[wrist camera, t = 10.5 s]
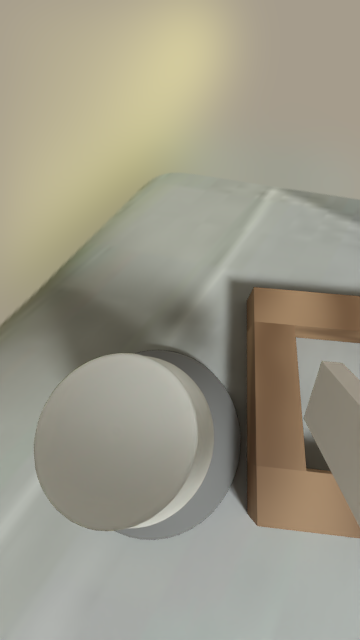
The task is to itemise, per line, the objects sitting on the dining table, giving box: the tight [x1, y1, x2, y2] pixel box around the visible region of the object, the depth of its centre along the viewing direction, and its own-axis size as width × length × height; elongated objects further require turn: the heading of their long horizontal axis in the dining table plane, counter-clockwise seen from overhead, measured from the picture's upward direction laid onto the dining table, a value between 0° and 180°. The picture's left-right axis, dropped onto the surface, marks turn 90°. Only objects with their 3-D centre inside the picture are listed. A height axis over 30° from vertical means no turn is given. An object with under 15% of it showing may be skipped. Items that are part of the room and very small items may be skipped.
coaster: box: [114, 350, 240, 540], centre depth 15 cm, size 10×10×1 cm
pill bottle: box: [34, 353, 214, 531], centre depth 11 cm, size 5×5×10 cm
